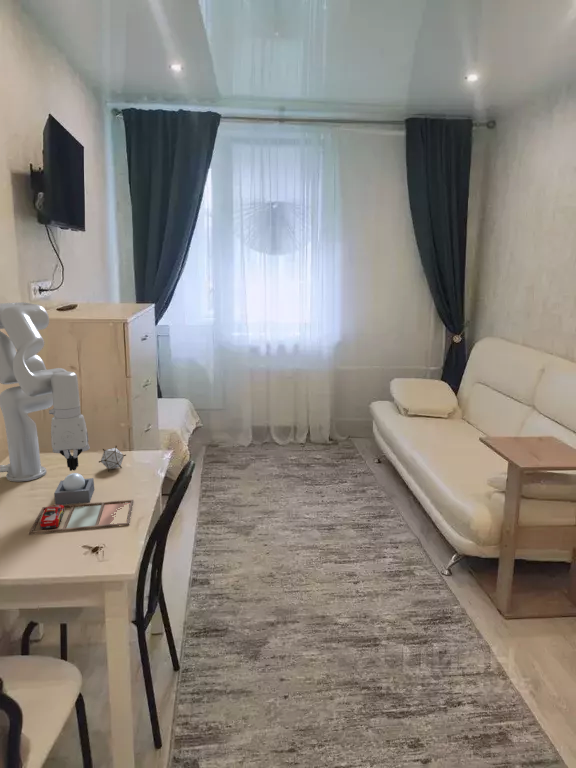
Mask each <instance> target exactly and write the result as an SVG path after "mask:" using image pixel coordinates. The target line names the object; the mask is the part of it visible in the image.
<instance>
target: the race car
mask: <svg viewBox="0 0 576 768" xmlns="http://www.w3.org/2000/svg"><path fill="white" fill-rule="evenodd" d="M46 507H47V508H46V509H43V511H44V512H43V513H42V515H41V517H40V519H39V526H40V529H41V530H50V529H57V528H59V526H60V525H61V522H62V520H63V516H64V514H65V508H64V506H63V505H55V504H51V505H49V506H46Z"/></svg>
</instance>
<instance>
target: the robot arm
mask: <svg viewBox="0 0 576 768" xmlns="http://www.w3.org/2000/svg"><path fill="white" fill-rule="evenodd" d="M49 325H50V317H49V314H48V312H47V310H46V309H45V307H44V306H41V304H36V303H31V302H24V301H23V302H4V303H1V302H0V384H2V385H15V384H18V385H17V386H12V387H10V388H6V389H4V390H3V391H2V392H0V409H1V413H2V417H3V421H4V426H5V433H6V441H7V442H6V443H7V451H8V459H9V463H7V464H0V473H6V477H5V478H6V480H7V481H11V482H16V483H17V482H20V483H21V482H28V481H33V480H36V479H39V478H42V477H44V476H45V475H46V474H47V468H46V467H45V466H42V463H41V456H40V455H41V454H40V453H41V452H40V445H39V436H38V429H37V423H36V422H35V421H34V420H33V419H32V418H31V417H30V416H29V415H28V414H30V413H34V412H38V411H39V412H40V411H43V410H47V409H48V414H49V415H53V417H52V418H51V425H50V434H51V435H50V437H51V448H52V453H54V454H60V455H62V456H63V457H64V458H65V459H66V465H67V468H69V472H70V471H71V472H73V471H74V472H75V471H76V470H77V468H78V467H79V457H78V456H79V455H80V454H81V453H82V452H86V451H89V450H90V444H89V434H88V429H87V423H86V420H85V416H84V414H82V411H81V399H80V391H79V380H78V379H79V378H78V375H77V373H75V372H74V371H68V370H66V369H65V368H63V367H62V368H61V367H55V368H50V369H47V367H46V365H45V362H44V360H43V358H41V357H40V356H39V355H38V353H40V352H41V351H42V349H43V348H44V346H45V340H44V338H43V337H42V335H41V333H40V331H41V330H44V329H47V328H48V326H49ZM3 329H4V330H5V332H6V333H4V332H3V331H1V330H3ZM52 406H53V408H51V407H52ZM49 408H51V409H49ZM72 450H73V454H72V453H71V451H72Z"/></svg>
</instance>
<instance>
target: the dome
mask: <svg viewBox="0 0 576 768" xmlns="http://www.w3.org/2000/svg"><path fill="white" fill-rule="evenodd" d="M85 479H86V478H84V476H83V475H82V474H80V473H78V472H72V473H69V474H67V475H66V476H65V478H64V479H63V480H64V482H63V486H64V489H65V490H66V491H69V490H82V489H83V488H84V486H85Z"/></svg>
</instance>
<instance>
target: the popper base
mask: <svg viewBox="0 0 576 768" xmlns="http://www.w3.org/2000/svg"><path fill="white" fill-rule="evenodd" d="M84 479H85V486H84V488H83V489H82V490H69V491H66V490H65V489H64V486H63V482H64V479H62V480H60V482H59V483H58V485H57V487H56V489H55V491H54V494H53V496H54V505H74V504H86V503H91V500H92V497H93V495H94V491H95V481H94V478H93V477H92V478H89V477H88V478H84Z"/></svg>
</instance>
